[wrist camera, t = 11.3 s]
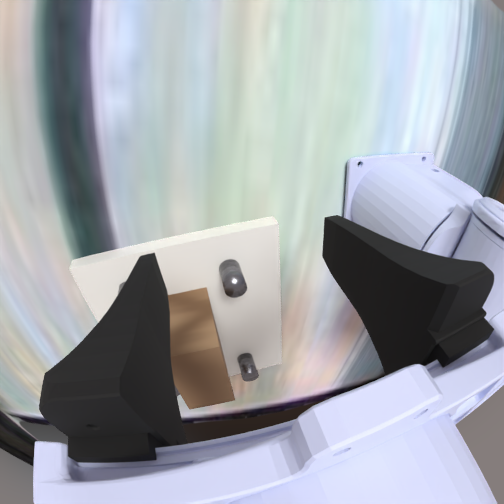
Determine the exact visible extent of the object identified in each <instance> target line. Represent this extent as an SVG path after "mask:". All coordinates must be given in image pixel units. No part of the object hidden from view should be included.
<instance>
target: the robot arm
mask: <svg viewBox="0 0 504 504" xmlns="http://www.w3.org/2000/svg"><path fill="white" fill-rule="evenodd" d="M422 157H423V159H422ZM358 162H361V163H360V165H359V166H358ZM433 164H434V155H433V154H432V153H430V152H425V153H405V154H389V155H375V156H363V157H353V158H350V159H349V160H348V163H347V177H346V193H345V207H344V218H343V217H341V216H338V215H336V216H330V217H325V221H324V239H323V255H322V256H323V258H324V260H325V262H326V265H327V267H328V268H329V270H330V272H331V274H332V276H333V277H334V279H335V280H336V282H337V283H338V284H339V286H340V287H341V289H342V290H343V292H344V293H345V295H346V296H347V297H348V299H349V300H350V302H351V303H352V305H353V306H354V308H355V309H356V311H357V312H358V314H359V316H360V317H361V319H362V321H363V323H364V325H365V327H366V329H367V331H368V333H369V335H370V337H371V339H372V342H373V344H374V346H375V348H376V351H377V353H378V356H379V358H380V361H381V363H382V366H383V368H384V371H385V374H386V376H385V377H383V378H380V379H378V380H376V381H373V382H371V383H369V384H366V385H364V386H361V387H359V388H356V389H354V390H351V391H349V392H346V393H343V394H341V395H338V396H335V397H332V398H330V399H328V400H326V401H324V402H321V403H319V404H317V405H314V406H312V407H311V408H310V409H308V410H307V411H305V412H304V413H302V414H301V415H299V417H298V418H297V419H295V420H292V421H289V422H285V423H282V424H278V425H274V426H271V427H267V428H263V429H259V430H255V431H251V432H247V433H243V434H238V435H234V436H229V437H224V438H220V439H214V440H208V441H203V442H197V443H190V444H188V443H187V440H186V436H185V432H184V428H183V424H182V420H181V415H180V411H179V406H178V401H177V396H176V391H175V385H174V379H173V373H172V366H171V349H170V308H169V300H168V293H167V288H166V286H165V283H164V280H163V277H162V274H161V271H160V268H159V265H158V262H157V259H156V255H155V253H150V254H146V255H141V256H140V257H139V259H138V260H137V262H136V264H135V266H134V268H133V269H132V271H131V273H130V275H129V277H128V279H127V280H126V282H125V284H124V286H123V287H122V289H121V291H120V292H119V294H118V296H117V297H116V299H115V300H114V302H113V304H112V305H111V307H110V308H109V309H108V311H107V312H106V314H105V315H104V316H103V317H102V319H101V320H100V321H99V323H98V324H97V325H96V326H95V327H94V328H93V330H92V331H91V332H90V333H89V334H88V335H87V336H86V337H85V339H84V340H83V341H82V342H81V343H80V344H79V345H78V346H77V347H76V348H75V349H74V350H73V351H71V352H70V353H69V354H68V355H67V356H66V357H65V358H64V359H63V360H61V361H60V362H59V363H58V364H56V365H55V366H54V367H53V368H51V369H50V370H49V371H48V372H46V373H45V375H44V380H43V385H42V391H41V397H40V404H39V410H40V412H41V414H42V415H43V417H44V418H45V419H46V420H47V421H48V422H50V423H51V424H52V425H53V426H55V427H56V428H57V429H59V430H60V431H61V432H63V433H64V434H66V435H67V436H68V445H67V444H63V443H59V442H44V441H43V442H42V441H36V442H35V451H34V473H33V496H34V497H33V499H34V504H497V502H496V500H495V498H494V496H493V494H492V492H491V490H490V488H489V486H488V484H487V482H486V480H485V478H484V476H483V474H482V472H481V470H480V468H479V467H478V465H477V463H476V461H475V459H474V457H473V456H472V454H471V452H470V451H469V448H468V447H467V445H466V443H465V441H464V440H463V438H462V436H461V435H460V433H459V431H458V429H457V428H456V426H455V424H456V423H458V422H459V421H460V420H462V419H463V418H464V417H466V416H467V415H468V414H469V413H471V412H472V411H473V410H475V409H476V408H477V407H478V406H480V405H481V404H482V403H483V402H484V401H485V400H487V399H488V398H489V397H490V396H491V395H493V394H494V393H495V392H496V391H497V390H498V389H499V388H501V387H502V386H503V385H504V205H503V204H501V203H500V202H498V201H496V200H494V199H491V198H489V197H484V198H483V197H482V196H481V195H480V193H479V192H478V191H476V190H475V189H474V188H472V187H470V186H469V185H467V184H466V183H464V182H462V181H461V180H459V179H458V178H456V177H454V176H453V175H451V174H449V173H447V172H446V171H444V170H442V169H440V168H439V167H437V166H435V165H433Z"/></svg>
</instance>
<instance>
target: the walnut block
mask: <svg viewBox="0 0 504 504" xmlns="http://www.w3.org/2000/svg"><path fill="white" fill-rule="evenodd" d="M168 300H169V308H170V349H171V366H172V373H173V379H174V384H175V386H176V388H177V389H178V391H179V393H180V394H181V396H182V398H183V399H184V401H185V403H186V404H187V406H188V408H189V409H194V408H199V407H205V406H210V405H215V404H220V403H224V402H229V401H233V400H235V398H234V394H233V390H232V386H231V383H230V379H229V375H228V371H227V366H226V362H225V358H224V354H223V350H222V346H221V342H220V338H219V335H218V331H217V327H216V323H215V319H214V315H213V311H212V307H211V303H210V299H209V295H208V291H207V287H205V288H200V289H195V290H191V291H186V292H181V293H176V294H172V295H168Z"/></svg>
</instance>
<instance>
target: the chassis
mask: <svg viewBox="0 0 504 504" xmlns="http://www.w3.org/2000/svg"><path fill="white" fill-rule="evenodd" d="M150 253H155V255H156V259H157V262H158V265H159V268H160V271H161V274H162V277H163V280H164V283H165V286H166V288H167V293H168V295H172V294H176V293H181V292H186V291H191V290H195V289H200V288H205V287H207V291H208V295H209V299H210V303H211V307H212V311H213V315H214V319H215V323H216V327H217V331H218V335H219V338H220V342H221V346H222V350H223V354H224V358H225V362H226V366H227V371H228V375H229V376H234V375H238V374H242V378H243V380H244V381H253V380H255V379H256V378H258V376H259V375H258V372H257V370H259V369H262V368H266V367H270V366H274V365H277V364H281V363H282V324H281V282H280V251H279V224H278V222H277V221H276V219H275V218H274V216H271V217H265V218H260V219H255V220H250V221H245V222H240V223H235V224H230V225H225V226H220V227H215V228H210V229H206V230H201V231H196V232H191V233H187V234H182V235H177V236H173V237H168V238H164V239H159V240H155V241H150V242H146V243H141V244H137V245H133V246H128V247H124V248H120V249H115V250H111V251H107V252H103V253H98V254H94V255H90V256H86V257H82V258H78V259H74V260H72V263H71V265H70V268H69V270H70V272H71V274H72V276H73V278H74V280H75V282H76V284H77V286H78V287H79V289H80V291H81V293H82V295H83V297H84V299H85V300H86V302H87V304H88V306H89V308H90V309H91V311H92V313H93V315H94V316H95V318H96V320H97V321H98V323H99V321H100V320H101V319H102V317H103V316H104V315H105V314H106V312H107V311H108V309H109V308H110V307H111V305H112V304H113V302H114V300H115V299H116V297H117V296H118V294H119V292H120V291H121V289H122V287H123V286H124V284H125V282H126V280H127V279H128V277H129V275H130V273H131V271H132V269H133V268H134V266H135V264H136V262H137V260H138V259H139V257H140V256H141V255H146V254H150ZM174 385H175V384H174ZM175 391H176V396H178V395H180V393H179V391H178V389H177V388H176V386H175Z"/></svg>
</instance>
